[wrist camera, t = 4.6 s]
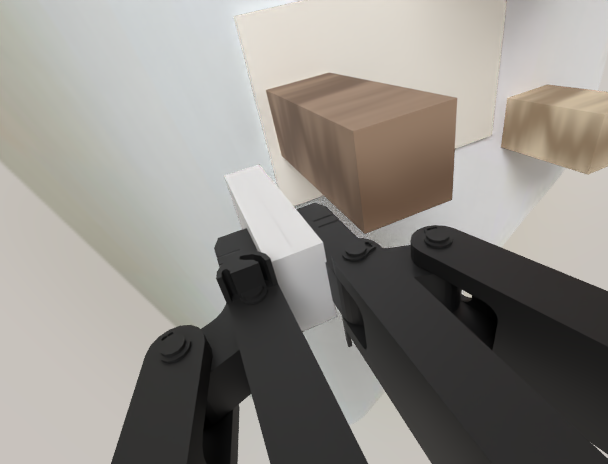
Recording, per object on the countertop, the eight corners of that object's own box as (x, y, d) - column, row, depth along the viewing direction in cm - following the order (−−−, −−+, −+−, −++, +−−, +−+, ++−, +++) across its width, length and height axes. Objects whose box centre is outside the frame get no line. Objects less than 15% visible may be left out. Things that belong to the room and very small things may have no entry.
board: (233, 16, 20) (234, 16, 20) (507, -47, 24) (512, -48, 24) (282, 207, 27) (284, 209, 27) (488, 134, 31) (491, 135, 31)
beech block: (507, 97, 30) (605, 114, 23) (547, 84, 31) (652, 97, 24) (501, 147, 32) (587, 174, 26) (538, 133, 33) (631, 156, 27)
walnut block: (265, 89, 22) (353, 131, 12) (328, 72, 23) (457, 97, 13) (281, 155, 25) (364, 233, 15) (337, 137, 25) (451, 199, 16)
